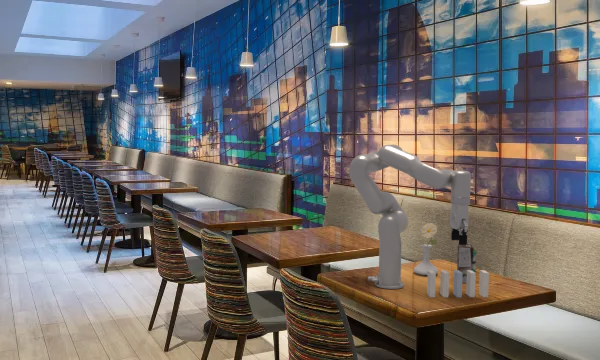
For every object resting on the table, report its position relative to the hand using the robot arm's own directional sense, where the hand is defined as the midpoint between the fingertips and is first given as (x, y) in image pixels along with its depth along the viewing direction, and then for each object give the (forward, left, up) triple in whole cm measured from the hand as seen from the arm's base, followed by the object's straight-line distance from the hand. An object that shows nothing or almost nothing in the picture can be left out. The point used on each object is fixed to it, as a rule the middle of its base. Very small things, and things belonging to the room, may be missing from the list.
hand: (458, 242), depth 243 cm
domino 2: (-5, 0, -22) cm, 23 cm away
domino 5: (+11, 0, -22) cm, 25 cm away
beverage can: (+17, +38, -22) cm, 47 cm away
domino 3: (0, 0, -22) cm, 22 cm away
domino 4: (+6, 0, -22) cm, 23 cm away
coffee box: (+11, +24, -22) cm, 35 cm away
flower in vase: (-3, +36, -22) cm, 42 cm away
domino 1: (-11, 0, -22) cm, 25 cm away
